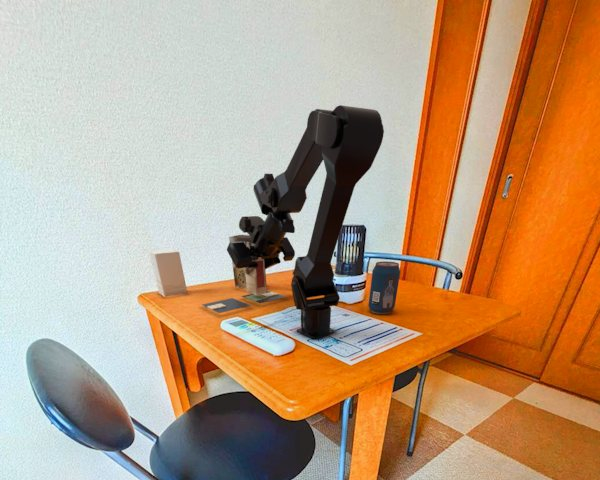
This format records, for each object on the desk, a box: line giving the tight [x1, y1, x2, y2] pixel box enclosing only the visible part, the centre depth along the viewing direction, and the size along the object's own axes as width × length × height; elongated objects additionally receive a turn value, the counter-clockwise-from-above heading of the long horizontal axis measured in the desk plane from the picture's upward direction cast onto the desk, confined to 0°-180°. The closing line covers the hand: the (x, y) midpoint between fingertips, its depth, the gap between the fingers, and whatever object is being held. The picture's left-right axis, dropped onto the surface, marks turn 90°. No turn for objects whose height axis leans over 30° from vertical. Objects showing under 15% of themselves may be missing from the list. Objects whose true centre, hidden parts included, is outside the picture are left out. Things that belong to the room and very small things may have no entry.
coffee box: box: [228, 234, 267, 290], centre depth 100 cm, size 9×6×16 cm
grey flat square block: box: [241, 290, 287, 304], centre depth 94 cm, size 10×10×1 cm
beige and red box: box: [245, 258, 267, 295], centre depth 89 cm, size 5×4×11 cm
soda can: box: [367, 261, 401, 315], centre depth 81 cm, size 7×7×12 cm
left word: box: [201, 297, 252, 314], centre depth 87 cm, size 10×10×1 cm
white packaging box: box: [148, 248, 188, 298], centre depth 97 cm, size 7×7×13 cm
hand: (252, 272), depth 90 cm, fingers closed on beige and red box, 3 cm apart
